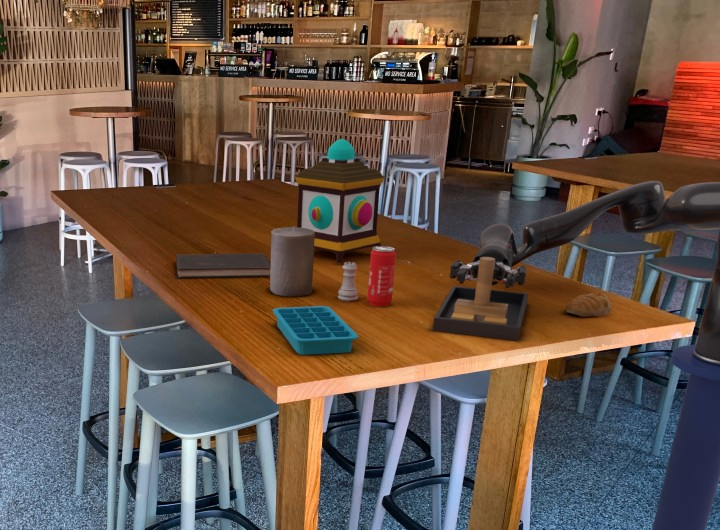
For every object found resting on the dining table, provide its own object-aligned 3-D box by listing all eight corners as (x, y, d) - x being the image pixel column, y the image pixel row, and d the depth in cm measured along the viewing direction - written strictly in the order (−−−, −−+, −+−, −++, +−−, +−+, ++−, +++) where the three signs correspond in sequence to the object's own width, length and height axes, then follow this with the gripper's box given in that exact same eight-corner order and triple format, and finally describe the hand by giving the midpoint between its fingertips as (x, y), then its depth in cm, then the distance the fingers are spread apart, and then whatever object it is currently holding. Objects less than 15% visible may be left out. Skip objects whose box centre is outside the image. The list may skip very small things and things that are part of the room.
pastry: (585, 320, 159) (588, 302, 157) (555, 312, 164) (558, 294, 163) (613, 313, 163) (616, 295, 162) (584, 305, 169) (587, 288, 167)
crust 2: (484, 325, 154) (485, 315, 153) (505, 328, 153) (507, 318, 152) (482, 330, 151) (483, 320, 151) (504, 332, 150) (505, 322, 149)
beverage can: (380, 308, 167) (385, 252, 162) (361, 303, 171) (366, 248, 166) (396, 304, 170) (401, 249, 165) (377, 299, 174) (381, 244, 169)
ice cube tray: (295, 356, 140) (296, 340, 138) (270, 322, 158) (271, 308, 157) (359, 353, 141) (360, 337, 140) (327, 320, 160) (328, 305, 158)
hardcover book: (272, 276, 192) (272, 267, 191) (177, 278, 191) (177, 268, 190) (264, 261, 207) (264, 252, 206) (176, 262, 206) (176, 254, 205)
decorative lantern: (283, 253, 215) (286, 138, 204) (330, 243, 227) (336, 134, 216) (340, 266, 201) (347, 144, 190) (387, 255, 213) (397, 139, 202)
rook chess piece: (362, 300, 173) (364, 264, 170) (346, 303, 171) (348, 266, 168) (349, 295, 177) (351, 260, 174) (333, 298, 174) (335, 262, 171)
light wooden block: (452, 322, 156) (453, 312, 156) (473, 324, 155) (474, 314, 154) (450, 326, 154) (451, 316, 153) (471, 328, 152) (472, 318, 151)
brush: (455, 316, 159) (463, 254, 155) (505, 322, 156) (515, 258, 151) (452, 322, 156) (460, 258, 151) (503, 328, 152) (513, 263, 148)
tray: (451, 297, 175) (452, 285, 174) (526, 305, 169) (528, 293, 168) (432, 330, 153) (434, 317, 152) (518, 341, 147) (520, 327, 146)
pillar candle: (319, 289, 181) (323, 224, 175) (299, 299, 174) (302, 231, 168) (282, 283, 186) (284, 219, 180) (261, 292, 179) (262, 226, 173)
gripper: (525, 283, 165) (520, 303, 151) (455, 277, 170) (444, 295, 157) (531, 248, 162) (526, 265, 148) (459, 242, 168) (448, 258, 154)
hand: (484, 280), depth 153 cm, fingers open, 8 cm apart
